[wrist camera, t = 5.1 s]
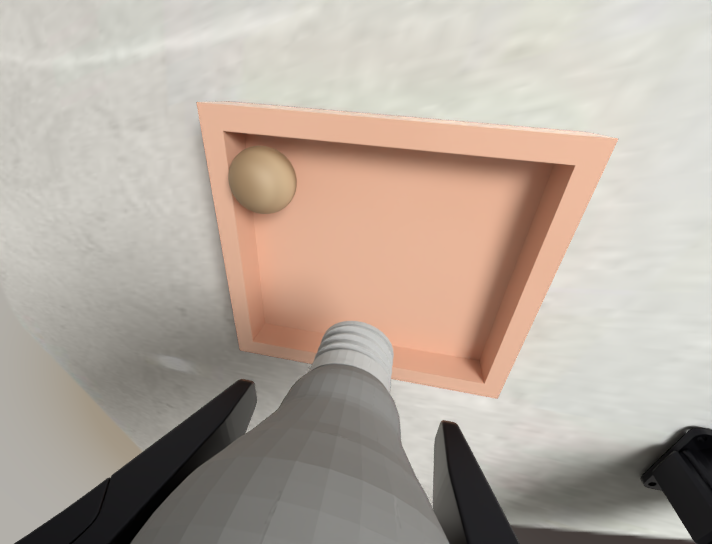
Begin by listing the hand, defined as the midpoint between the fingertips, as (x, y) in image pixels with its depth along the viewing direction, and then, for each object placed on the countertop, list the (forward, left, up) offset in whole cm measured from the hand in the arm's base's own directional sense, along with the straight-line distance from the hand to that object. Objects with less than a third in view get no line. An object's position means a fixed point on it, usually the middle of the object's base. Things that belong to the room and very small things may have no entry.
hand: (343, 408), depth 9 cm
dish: (0, 0, -10) cm, 10 cm away
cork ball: (+6, -4, -9) cm, 12 cm away
